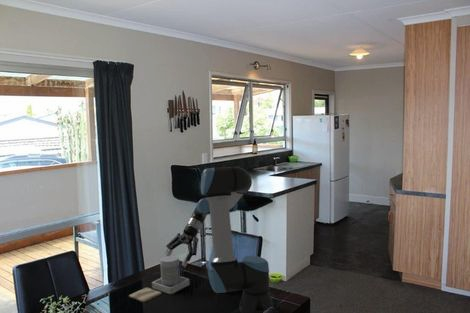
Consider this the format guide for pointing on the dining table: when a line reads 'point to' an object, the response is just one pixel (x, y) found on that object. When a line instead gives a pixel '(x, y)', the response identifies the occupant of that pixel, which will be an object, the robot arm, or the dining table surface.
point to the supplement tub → (170, 271)
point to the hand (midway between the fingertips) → (173, 263)
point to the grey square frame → (182, 284)
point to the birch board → (145, 294)
